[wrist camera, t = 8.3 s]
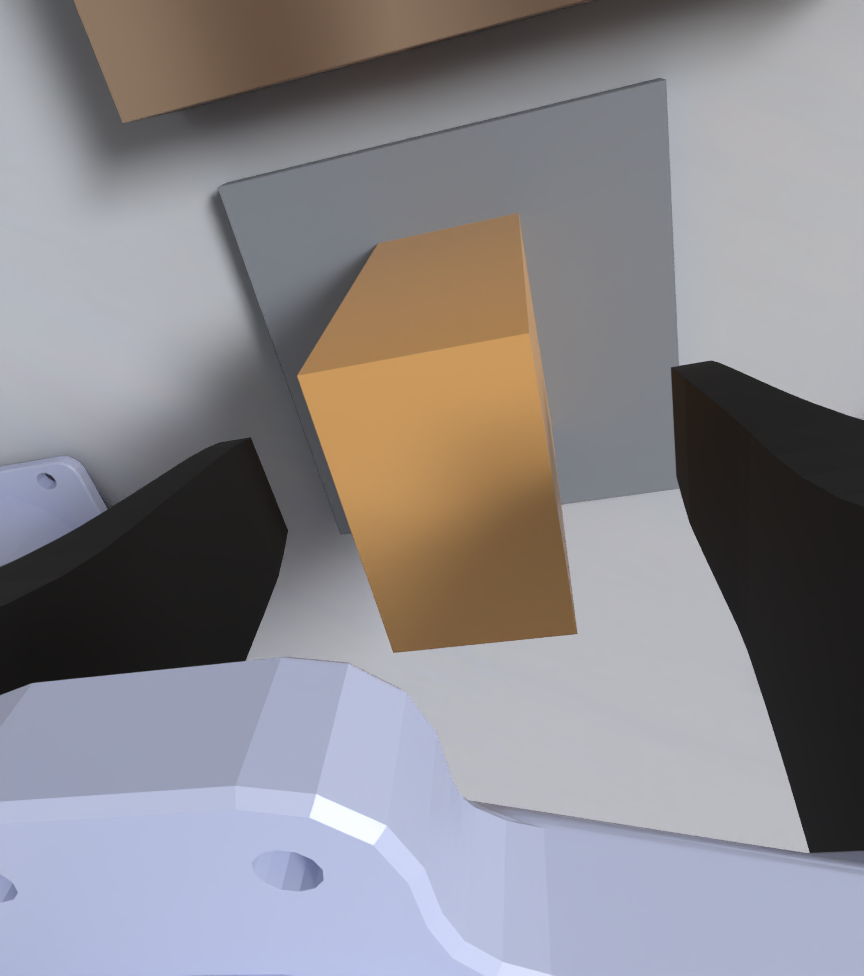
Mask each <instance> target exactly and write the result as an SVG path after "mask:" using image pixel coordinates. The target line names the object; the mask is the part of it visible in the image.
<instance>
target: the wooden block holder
mask: <svg viewBox="0 0 864 976" xmlns="http://www.w3.org/2000/svg"><path fill="white" fill-rule="evenodd" d="M73 1H74V3H75V6H76V8H77V11H78V13H79V16H80V18H81V21H82V23H83V26H84V28H85V31H86V33H87V36H88V38H89V41H90V43H91V45H92V48H93V50H94V53H95V55H96V58H97V60H98V63H99V65H100V68H101V70H102V73H103V75H104V78H105V80H106V83H107V85H108V88H109V90H110V93H111V95H112V98H113V100H114V103H115V105H116V108H117V110H118V113H119V115H120V118H121V120H122V123H126V122H131V121H135V120H140V119H144V118H149V117H153V116H158V115H162V114H167V113H171V112H176V111H180V110H184V109H188V108H191V107H195V106H199V105H203V104H206V103H210V102H214V101H218V100H221V99H225V98H229V97H233V96H236V95H240V94H244V93H248V92H251V91H255V90H259V89H263V88H266V87H270V86H274V85H278V84H282V83H285V82H289V81H293V80H297V79H300V78H304V77H308V76H312V75H315V74H319V73H323V72H327V71H330V70H334V69H338V68H342V67H345V66H349V65H353V64H357V63H360V62H364V61H368V60H372V59H376V58H379V57H383V56H387V55H391V54H394V53H398V52H402V51H406V50H409V49H413V48H417V47H421V46H424V45H428V44H432V43H436V42H439V41H443V40H447V39H451V38H454V37H458V36H462V35H466V34H470V33H473V32H477V31H481V30H485V29H488V28H492V27H496V26H500V25H503V24H507V23H511V22H515V21H518V20H522V19H526V18H530V17H533V16H537V15H541V14H545V13H548V12H552V11H556V10H560V9H564V8H567V7H571V6H575V5H579V4H582V3H586V2H590V1H594V0H73Z"/></svg>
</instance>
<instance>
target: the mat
mask: <svg viewBox="0 0 864 976" xmlns="http://www.w3.org/2000/svg"><path fill="white" fill-rule="evenodd" d="M218 190H219V193H220V196H221V199H222V201H223V204H224V207H225V210H226V213H227V216H228V218H229V221H230V224H231V227H232V230H233V232H234V235H235V238H236V241H237V244H238V247H239V249H240V252H241V255H242V258H243V261H244V263H245V266H246V269H247V272H248V275H249V278H250V280H251V283H252V286H253V289H254V292H255V294H256V297H257V300H258V303H259V306H260V308H261V311H262V314H263V317H264V320H265V323H266V325H267V328H268V331H269V334H270V337H271V339H272V342H273V345H274V348H275V351H276V354H277V356H278V359H279V362H280V365H281V368H282V370H283V373H284V376H285V379H286V382H287V385H288V387H289V390H290V393H291V396H292V399H293V401H294V404H295V407H296V410H297V413H298V415H299V418H300V421H301V424H302V427H303V430H304V432H305V435H306V438H307V441H308V444H309V446H310V449H311V452H312V455H313V458H314V461H315V463H316V466H317V469H318V472H319V475H320V477H321V480H322V483H323V486H324V489H325V492H326V494H327V497H328V500H329V503H330V506H331V508H332V511H333V514H334V517H335V520H336V522H337V525H338V528H339V531H340V534H347V533H352V532H351V529H350V526H349V524H348V521H347V518H346V515H345V512H344V509H343V506H342V503H341V501H340V498H339V495H338V492H337V489H336V486H335V483H334V480H333V478H332V475H331V472H330V469H329V466H328V463H327V460H326V457H325V455H324V452H323V449H322V446H321V443H320V440H319V437H318V434H317V432H316V429H315V426H314V423H313V420H312V417H311V414H310V411H309V409H308V406H307V403H306V400H305V397H304V394H303V391H302V388H301V386H300V383H299V380H298V377H297V375H298V374H299V372H300V370H301V369H302V367H303V365H304V364H305V362H306V360H307V359H308V357H309V356H310V354H311V352H312V351H313V349H314V347H315V346H316V344H317V342H318V341H319V339H320V338H321V336H322V334H323V333H324V331H325V329H326V328H327V326H328V324H329V323H330V321H331V320H332V318H333V316H334V315H335V313H336V311H337V310H338V308H339V306H340V305H341V303H342V302H343V300H344V298H345V297H346V295H347V293H348V292H349V290H350V288H351V287H352V285H353V284H354V282H355V280H356V279H357V277H358V275H359V274H360V272H361V270H362V269H363V267H364V266H365V264H366V262H367V261H368V259H369V257H370V256H371V254H372V252H373V251H374V249H375V248H376V246H377V244H378V243H383V242H387V241H392V240H397V239H401V238H406V237H410V236H415V235H420V234H424V233H429V232H433V231H438V230H443V229H447V228H452V227H456V226H461V225H466V224H470V223H475V222H479V221H484V220H489V219H493V218H498V217H502V216H507V215H512V214H516V213H519V219H520V226H521V232H522V239H523V245H524V252H525V258H526V265H527V271H528V278H529V284H530V291H531V297H532V304H533V310H534V317H535V323H536V330H537V336H538V342H539V349H540V355H541V362H542V368H543V375H544V381H545V388H546V394H547V401H548V407H549V414H550V420H551V427H552V435H553V443H554V451H555V459H556V467H557V475H558V483H559V491H560V499H561V504H569V503H576V502H583V501H591V500H598V499H606V498H613V497H620V496H628V495H635V494H642V493H650V492H657V491H665V490H672V489H679V484H678V481H677V477H676V460H675V440H674V421H673V401H672V382H671V367H676V366H679V361H678V338H677V316H676V293H675V271H674V249H673V226H672V204H671V181H670V159H669V137H668V114H667V92H666V79H662V78H658V79H654V80H650V81H646V82H641V83H637V84H633V85H629V86H625V87H621V88H617V89H612V90H608V91H604V92H600V93H596V94H592V95H588V96H583V97H579V98H575V99H571V100H567V101H563V102H559V103H554V104H550V105H546V106H542V107H538V108H534V109H530V110H526V111H521V112H517V113H513V114H509V115H505V116H501V117H497V118H492V119H488V120H484V121H480V122H476V123H472V124H468V125H463V126H459V127H455V128H451V129H447V130H443V131H439V132H434V133H430V134H426V135H422V136H418V137H414V138H410V139H405V140H401V141H397V142H393V143H389V144H385V145H381V146H376V147H372V148H368V149H364V150H360V151H356V152H352V153H347V154H343V155H339V156H335V157H331V158H327V159H323V160H318V161H314V162H310V163H306V164H302V165H298V166H294V167H289V168H285V169H281V170H277V171H273V172H269V173H265V174H261V175H256V176H252V177H248V178H244V179H240V180H236V181H232V182H227V183H225V184H223V185H221V186H220V187H218Z"/></svg>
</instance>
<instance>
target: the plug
mask: <svg viewBox="0 0 864 976" xmlns="http://www.w3.org/2000/svg"><path fill="white" fill-rule="evenodd" d="M297 377H298V380H299V383H300V386H301V388H302V391H303V394H304V397H305V400H306V403H307V406H308V409H309V411H310V414H311V417H312V420H313V423H314V426H315V429H316V432H317V434H318V437H319V440H320V443H321V446H322V449H323V452H324V455H325V457H326V460H327V463H328V466H329V469H330V472H331V475H332V478H333V480H334V483H335V486H336V489H337V492H338V495H339V498H340V501H341V503H342V506H343V509H344V512H345V515H346V518H347V521H348V524H349V526H350V529H351V532H352V535H353V538H354V541H355V544H356V546H357V549H358V552H359V555H360V558H361V561H362V564H363V567H364V569H365V572H366V575H367V578H368V581H369V584H370V587H371V590H372V592H373V595H374V598H375V601H376V604H377V607H378V610H379V613H380V615H381V618H382V621H383V624H384V627H385V630H386V633H387V636H388V638H389V641H390V644H391V647H392V650H393V653H396V652H406V651H416V650H426V649H435V648H445V647H455V646H465V645H474V644H484V643H494V642H504V641H513V640H523V639H533V638H542V637H552V636H562V635H572V634H577V627H576V619H575V611H574V603H573V595H572V587H571V579H570V571H569V563H568V555H567V547H566V539H565V531H564V523H563V515H562V507H561V499H560V491H559V483H558V475H557V467H556V459H555V451H554V443H553V435H552V427H551V420H550V414H549V407H548V401H547V394H546V388H545V381H544V375H543V368H542V362H541V355H540V349H539V342H538V336H537V330H536V323H535V317H534V310H533V304H532V297H531V291H530V284H529V278H528V271H527V265H526V258H525V252H524V245H523V239H522V232H521V226H520V219H519V213H516V214H512V215H507V216H502V217H498V218H493V219H489V220H484V221H479V222H475V223H470V224H466V225H461V226H456V227H452V228H447V229H443V230H438V231H433V232H429V233H424V234H420V235H415V236H410V237H406V238H401V239H397V240H392V241H387V242H383V243H378V244H377V246H376V248H375V249H374V251H373V252H372V254H371V256H370V257H369V259H368V261H367V262H366V264H365V266H364V267H363V269H362V270H361V272H360V274H359V275H358V277H357V279H356V280H355V282H354V284H353V285H352V287H351V288H350V290H349V292H348V293H347V295H346V297H345V298H344V300H343V302H342V303H341V305H340V306H339V308H338V310H337V311H336V313H335V315H334V316H333V318H332V320H331V321H330V323H329V324H328V326H327V328H326V329H325V331H324V333H323V334H322V336H321V338H320V339H319V341H318V342H317V344H316V346H315V347H314V349H313V351H312V352H311V354H310V356H309V357H308V359H307V360H306V362H305V364H304V365H303V367H302V369H301V370H300V372H299V374H298V375H297Z"/></svg>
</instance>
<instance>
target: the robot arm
mask: <svg viewBox="0 0 864 976" xmlns="http://www.w3.org/2000/svg"><path fill="white" fill-rule="evenodd" d="M671 382H672V401H673V421H674V440H675V460H676V477H677V481H678V484H679V488H680V491H681V495H682V499H683V502H684V505H685V509H686V512H687V515H688V519H689V522H690V525H691V527H692V529H693V532H694V534H695V536H696V538H697V540H698V543H699V545H700V547H701V549H702V551H703V553H704V556H705V558H706V560H707V562H708V564H709V566H710V569H711V571H712V573H713V575H714V577H715V579H716V581H717V583H718V586H719V588H720V590H721V592H722V594H723V596H724V598H725V600H726V603H727V605H728V607H729V609H730V611H731V613H732V615H733V618H734V620H735V622H736V624H737V626H738V628H739V631H740V633H741V636H742V638H743V641H744V643H745V646H746V648H747V650H748V653H749V656H750V659H751V662H752V665H753V668H754V671H755V675H756V678H757V681H758V684H759V687H760V690H761V693H762V696H763V699H764V702H765V705H766V708H767V711H768V714H769V718H770V721H771V724H772V727H773V731H774V734H775V737H776V740H777V743H778V747H779V750H780V753H781V756H782V759H783V763H784V766H785V769H786V773H787V776H788V779H789V783H790V786H791V790H792V793H793V796H794V800H795V803H796V807H797V810H798V813H799V817H800V820H801V824H802V827H803V831H804V834H805V837H806V841H807V844H808V848H809V852H810V853H802V852H795V851H789V850H783V849H776V848H770V847H763V846H757V845H751V844H744V843H738V842H731V841H725V840H719V839H712V838H706V837H699V836H693V835H687V834H680V833H674V832H667V831H661V830H655V829H648V828H642V827H635V826H629V825H623V824H616V823H610V822H603V821H597V820H591V819H584V818H578V817H571V816H565V815H559V814H552V813H546V812H539V811H533V810H527V809H520V808H514V807H507V806H501V805H495V804H488V803H482V802H475V801H469V800H467V799H465V798H463V797H462V796H461V794H460V792H459V791H458V789H457V787H456V785H455V783H454V781H453V780H452V777H451V774H450V771H449V768H448V765H447V762H446V759H445V756H444V753H443V750H442V747H441V744H440V741H439V738H438V735H437V733H436V731H435V730H434V729H433V727H432V726H431V725H430V723H429V722H428V721H427V719H426V718H425V717H424V715H423V714H422V713H421V711H420V710H419V709H418V707H417V706H416V705H415V703H414V702H413V701H412V699H411V698H410V697H409V695H408V694H407V693H406V692H405V691H403V690H401V689H400V688H398V687H396V686H394V685H392V684H390V683H388V682H386V681H384V680H382V679H380V678H378V677H376V676H374V675H372V674H370V673H368V672H366V671H364V670H362V669H360V668H358V667H356V666H354V665H352V664H350V663H346V662H335V661H325V660H314V659H303V658H292V657H281V658H271V659H262V660H252V661H246V658H247V656H248V653H249V651H250V648H251V646H252V643H253V641H254V638H255V636H256V633H257V630H258V628H259V625H260V623H261V620H262V618H263V615H264V613H265V610H266V608H267V605H268V603H269V600H270V597H271V595H272V592H273V589H274V587H275V584H276V581H277V579H278V576H279V571H280V567H281V563H282V559H283V554H284V549H285V544H286V538H287V533H288V529H287V527H286V524H285V522H284V519H283V517H282V514H281V512H280V509H279V507H278V504H277V502H276V499H275V497H274V494H273V492H272V489H271V487H270V485H269V482H268V480H267V477H266V475H265V472H264V470H263V467H262V465H261V462H260V460H259V457H258V455H257V452H256V450H255V447H254V445H253V442H252V440H251V438H245V439H239V440H233V441H227V442H221V443H217V444H215V445H213V446H210V447H208V448H206V449H204V450H202V451H200V452H199V453H197V454H195V455H193V456H192V457H190V458H188V459H187V460H185V461H183V462H182V463H180V464H178V465H177V466H175V467H174V468H172V469H171V470H169V471H167V472H166V473H164V474H163V475H161V476H160V477H158V478H157V479H155V480H154V481H152V482H150V483H149V484H147V485H146V486H144V487H143V488H141V489H140V490H138V491H137V492H135V493H133V494H132V495H130V496H129V497H127V498H126V499H124V500H122V501H121V502H119V503H117V504H116V505H114V506H112V507H111V508H109V509H107V507H106V506H105V504H104V502H103V500H102V498H101V496H100V495H99V493H98V491H97V489H96V487H95V486H94V484H93V482H92V480H91V478H90V477H89V475H88V473H87V471H86V469H85V468H84V467H83V465H82V464H81V463H80V462H78V461H77V460H75V459H73V458H70V457H68V456H59V457H53V458H47V459H41V460H36V461H30V462H24V463H18V464H12V465H6V466H0V976H864V420H861V419H858V418H854V417H851V416H848V415H845V414H842V413H839V412H837V411H834V410H831V409H828V408H825V407H822V406H820V405H817V404H814V403H811V402H809V401H806V400H804V399H801V398H799V397H796V396H794V395H791V394H789V393H787V392H784V391H782V390H780V389H777V388H775V387H773V386H770V385H768V384H766V383H764V382H761V381H759V380H757V379H755V378H753V377H750V376H748V375H746V374H744V373H742V372H739V371H737V370H735V369H733V368H730V367H728V366H726V365H723V364H721V363H718V362H714V361H706V362H700V363H694V364H688V365H682V366H676V367H671ZM45 473H47V474H49V475H51V476H52V477H53V478H54V479H55V481H56V482H55V481H52V480H51V479H49V478H48V477H47V476H46V474H45Z"/></svg>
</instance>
